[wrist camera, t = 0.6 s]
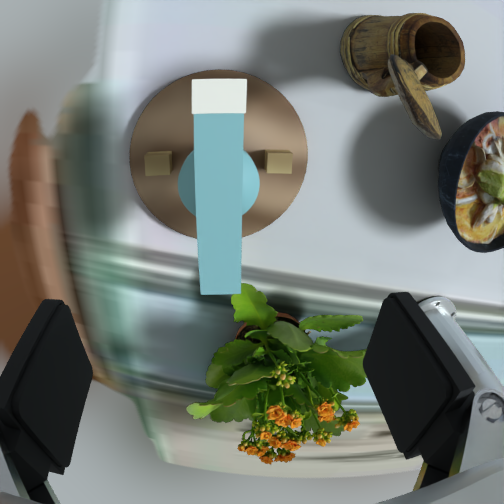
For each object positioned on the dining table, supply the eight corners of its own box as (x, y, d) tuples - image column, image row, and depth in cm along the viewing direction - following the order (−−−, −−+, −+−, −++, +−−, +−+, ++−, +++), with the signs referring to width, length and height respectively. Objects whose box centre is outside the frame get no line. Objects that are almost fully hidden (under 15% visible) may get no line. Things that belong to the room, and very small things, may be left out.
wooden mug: (290, 69, 28) (369, 55, 13) (378, 3, 25) (492, -32, 9) (345, 132, 32) (449, 183, 16) (424, 65, 28) (546, 77, 13)
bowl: (468, 239, 41) (509, 274, 32) (389, 197, 36) (434, 233, 27) (513, 142, 33) (562, 163, 25) (442, 76, 29) (500, 83, 20)
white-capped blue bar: (254, 250, 28) (263, 293, 23) (184, 252, 28) (178, 296, 22) (260, 82, 22) (274, 79, 16) (178, 82, 21) (164, 81, 15)
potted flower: (160, 276, 38) (136, 394, 23) (352, 235, 38) (424, 331, 23) (213, 397, 50) (217, 490, 35) (351, 367, 50) (386, 454, 35)
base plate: (297, 234, 37) (316, 271, 30) (140, 238, 36) (124, 276, 29) (309, 74, 29) (336, 71, 22) (129, 76, 27) (102, 73, 20)
